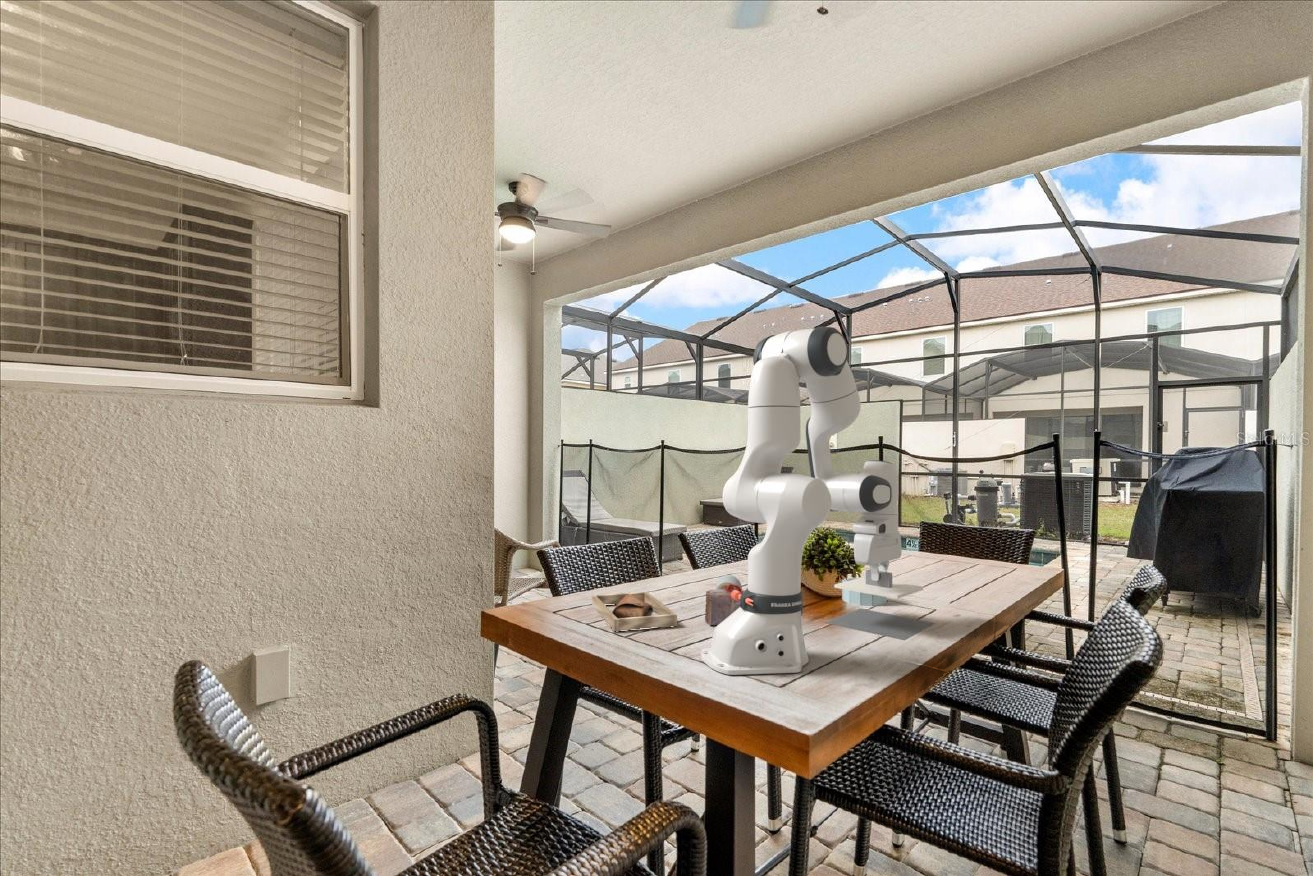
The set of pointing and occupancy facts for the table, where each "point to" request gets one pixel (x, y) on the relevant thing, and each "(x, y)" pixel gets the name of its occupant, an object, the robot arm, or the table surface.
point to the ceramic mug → (727, 582)
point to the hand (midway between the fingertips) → (878, 579)
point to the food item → (721, 604)
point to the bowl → (862, 597)
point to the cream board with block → (879, 586)
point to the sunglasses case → (631, 607)
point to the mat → (881, 623)
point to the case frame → (618, 624)
